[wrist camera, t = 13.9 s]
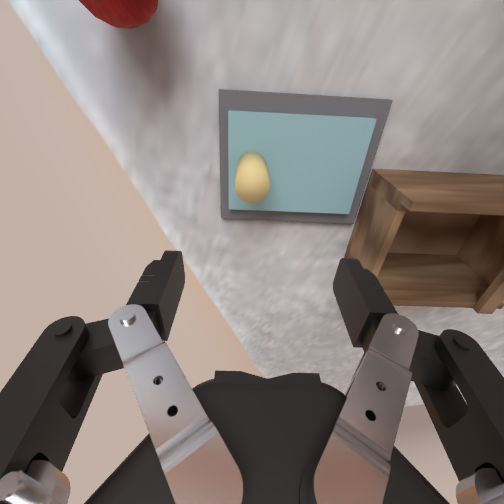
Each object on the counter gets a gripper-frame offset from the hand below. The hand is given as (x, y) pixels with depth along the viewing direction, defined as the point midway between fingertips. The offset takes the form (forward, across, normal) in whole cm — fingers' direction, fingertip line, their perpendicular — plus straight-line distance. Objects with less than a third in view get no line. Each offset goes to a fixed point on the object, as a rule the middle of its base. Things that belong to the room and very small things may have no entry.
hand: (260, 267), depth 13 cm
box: (+18, -20, +6) cm, 28 cm away
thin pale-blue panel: (+17, -4, 0) cm, 18 cm away
